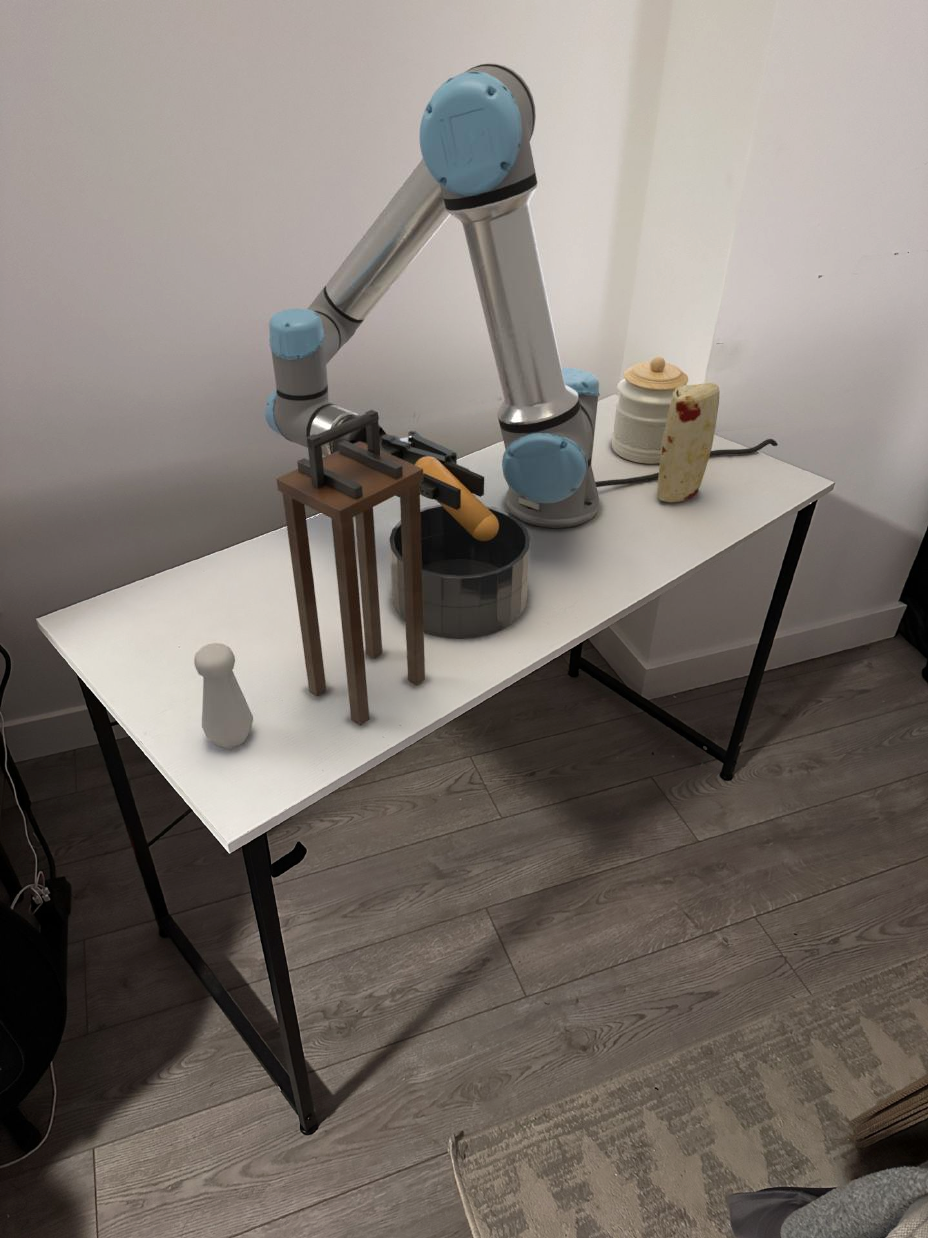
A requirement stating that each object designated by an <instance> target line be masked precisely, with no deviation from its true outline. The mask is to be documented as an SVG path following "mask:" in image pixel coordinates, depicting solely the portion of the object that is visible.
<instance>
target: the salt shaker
mask: <svg viewBox="0 0 928 1238" xmlns="http://www.w3.org/2000/svg"><path fill="white" fill-rule="evenodd" d="M193 663H194V664H193V665H194V668H195V670H196V672H197V674H198V676H200V677H202V678H203V679H202V704H201V705H202V711H201V728H202V730H203V733H204V735H205V737H206V738H207V739H208V740H209V741H210V742H211V743H213V745H215V746H217V747H221V748H223V749H227V750H230V749H232V748H235V747H238V746H241V745H244V744H245V742H246V740H247V737H248V735H249V733H250V731H251V730H252V727H253V722H254V715H253V713H252V712H251V711H252V710H251V709H250V706H249V704H248V702H247V699H246V697H245V695H244V693H243V691H242V689H241V687H240V684H239V682H238V679H237V677H236V675H235V673H234V669H235V664H236V656H235V654H234V652H233V650H232V649H231V647H230V646H228V645H226V644H224V643H217V642H213V643H209V644H206V645H204V646H202V647H201V648H199V650H198V651H197V652H196V653H195V655H194V659H193Z"/></svg>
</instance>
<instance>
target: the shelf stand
mask: <svg viewBox="0 0 928 1238" xmlns="http://www.w3.org/2000/svg"><path fill="white" fill-rule="evenodd" d="M379 420H380V416H379V412H378V411H377V410H374V409H370V410H367V411H365V412H364V414H361V415H360V416H359V417H357V418H354V419H352V420H350V421H347V422H345V423H342V424H340V425H338V426H335V427H333V428H331V429H328V430H326V431H324V432H321V433H319V434H317V435H315V434H313V435H311V436H308V437H307V445H308V448H307V450H308V451H307V453H308V459H307V458H305V457H304V458H302V459H299V460H297V462H296V464H297V469H294V470H293V471H290V472H288V473H286V474H283V475H281V476H279V477H277V478H276V479H275V480H276V487H277V492H279V493H281V494H282V501H283V508H284V516H285V524H286V531H287V537H288V545H289V552H290V561H291V565H292V575H293V582H294V590H295V597H296V603H297V610H298V619H299V620H298V621H299V627H300V633H301V634H300V635H301V642H302V650H303V656H304V663H305V671H306V679H307V685H308V691H309V692H310V693H312V694H313V695H315V696H316V697H319V696H320V695H321V694H323V693H324V692H326V691H327V682H326V681H327V680H326V674H325V666H324V657H323V647H322V640H321V632H320V623H319V615H318V614H319V613H318V606H317V598H316V590H315V582H314V573H313V565H312V556H311V555H312V554H311V547H310V540H309V532H308V531H309V530H308V523H307V514H306V507H309V508H311V510H314V511H316V512H318V513H320V514H321V515H324V516H326V517H328V518H330V522H331V531H332V540H333V551H334V559H335V560H334V562H335V570H336V582H337V590H338V591H337V592H338V601H339V608H340V609H339V611H340V612H339V613H340V620H341V622H340V623H341V632H342V642H343V643H342V644H343V653H344V659H345V660H344V662H345V669H346V670H345V671H346V681H347V690H348V702H349V712H350V720H351V721H352V722H353V723H355V724H356V725H358V726H362V725H363V724H364V723H366V722H368V721H369V720H370V707H369V695H368V683H367V672H366V670H367V669H366V661H365V660H366V659H365V658H366V657H365V655H367V656H368V657H370V658H372V659H373V660H375V659H376V658H378V657H379V656H381V655H382V654H383V639H382V637H383V636H382V623H381V609H380V594H379V578H378V577H379V576H378V564H377V548H376V546H377V545H376V533H375V531H376V529H375V517H374V507H376V506H378V505H380V504H381V503H384V502H386V501H388V500H389V499H391V498H393V497H396V496H395V495H397V494H399V493H400V497H399V507H400V520H401V531H402V554H403V577H404V600H405V621H404V622H405V641H406V664H407V680H408V681H409V682H410V683H413V684H414V685H415V686H418V685H419V684H421V683H422V682H424V681H425V680H426V667H425V666H426V661H425V657H426V656H425V633H424V622H423V586H422V551H421V515H420V510H421V495H420V482H422V481H423V469H422V468H420V467H418V466H415V465H413V464H411V463H408V462H406V461H404V460H402V459H399V458H397V457H395V456H392V455H390V454H388V453H386V452H383V451H381V450H380V441H379V425H380V424H379ZM365 426H366V432H367V444H365V443H363V442H360V441H359V442H357V443H354V444H352V443H350V442H347V441H345V440H344V441H342V442H340V443H338V445H339V451H337V452H334V453H332V454H330V455H328V456H324V457H323V455H322V448H321V446H322V445H324V444H327V443H329V442H331V441H334V440H336V439H338V438H340V437H343V436H345V435H347V434H349V433H352V432H354V431H356V430H359V429H361V428H363V427H365ZM305 506H306V507H305ZM354 523H355V524H354ZM354 525H355V526H354ZM355 537H356V538H355ZM356 547H357V549H356ZM357 560H358V561H357ZM359 585H360V587H359ZM360 597H361V599H360ZM361 610H362V611H361ZM364 646H365V647H364Z"/></svg>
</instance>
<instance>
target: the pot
mask: <svg viewBox="0 0 928 1238" xmlns="http://www.w3.org/2000/svg"><path fill="white" fill-rule="evenodd" d="M485 506H486V507H487V508H488V509H489V510H490V511H491V512H492V513H493V514H494V515H495V516H496V518H497V520H498V523H499V530H498V532H497V534H496V536H495V537H494V538H492V539H491V540H488V541H480V540H477V539H475V538H474V537H473V536H472V535H471V534H470V533H469V532H468V531H467V530H466V529H465V528H464V527H463V526H462V525H461V524H460V523H459V522H458V521H457V520H456V519H455V518H454V517H453V516H452V515H451V514H450V513H449V512H448V511H447V510H446V509H445V508H444V507H443V506H442V505H441V504H437V505H431V506H426V507H424V508H420V515H421V551H422V586H423V622H424V634H428V635H431V636H436V637H440V638H446V639H459V640H460V639H474V638H480V637H485V636H489V635H492V634H495V633H498V632H500V631H502V630H504V629H506V628H508V627H509V626H511V625H512V624H514V623H516V621H517V620H518V619H519V618H520V617H521V615H522V614H523V612H524V610H525V608H526V605H527V599H528V598H527V596H528V584H529V565H530V549H531V536H530V534H529V532H528V529H527V527H526V526H525V525H524V524H523V523H522V521H521V520H520V519H518V518H517V517H515V516H514V515H512V514H511V513H508V512H506V511H503V510H500V509H498V508H495V507H492V506H487V505H485ZM388 541H389V557H390V576H391V578H390V579H391V595H392V603H393V607H394V610H395V611H396V613H397V615H398V616H399V617H400V618H401V620H403V621H404V622H405V600H404V577H403V554H402V531H401V519H400V520H399V521H398V522H397V523H396V524H395V526H394V527H393V528H392V529H391V533H390V536H389V539H388Z"/></svg>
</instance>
